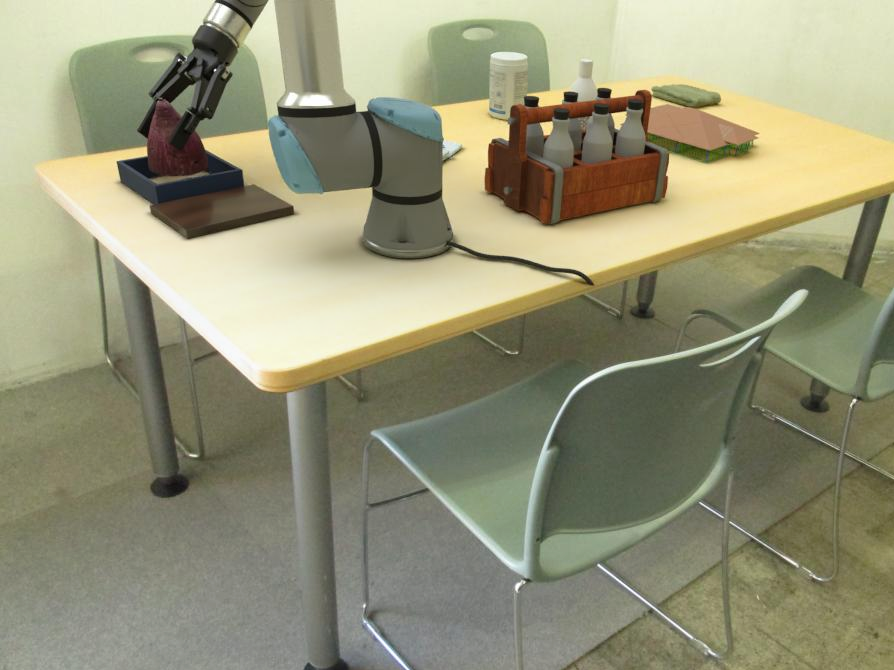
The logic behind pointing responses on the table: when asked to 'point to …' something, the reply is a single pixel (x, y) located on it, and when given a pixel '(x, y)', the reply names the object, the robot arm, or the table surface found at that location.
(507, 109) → the supplement tub
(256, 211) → the cutting board
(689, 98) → the washcloth
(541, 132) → the milk bottle holder
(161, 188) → the square frame
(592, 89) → the bath foam
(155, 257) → the table surface
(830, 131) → the table surface
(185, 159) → the vegetable
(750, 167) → the table surface
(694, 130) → the house
